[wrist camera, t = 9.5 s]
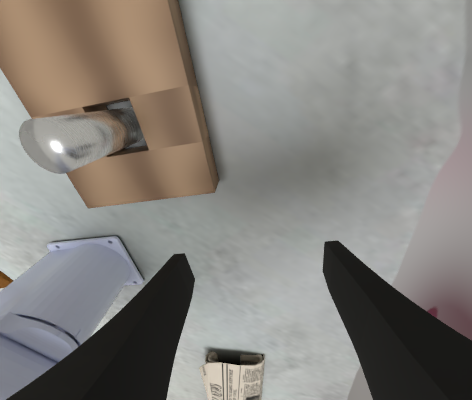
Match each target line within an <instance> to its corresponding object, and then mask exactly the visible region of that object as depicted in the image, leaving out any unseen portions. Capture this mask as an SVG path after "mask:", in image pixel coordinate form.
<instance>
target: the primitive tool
mask: <svg viewBox="0 0 472 400" xmlns="http://www.w3.org/2000/svg"><path fill="white" fill-rule="evenodd" d="M12 282H13V280H12V279H10V278H9V277H8V276H6V275H5V274H4V273H2V272H1V271H0V288H5V287H7V286H8V285H9V284H10V283H12Z"/></svg>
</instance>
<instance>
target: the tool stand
mask: <svg viewBox="0 0 472 400" xmlns="http://www.w3.org/2000/svg"><path fill="white" fill-rule="evenodd" d="M0 68H1V70H2V71H3V73H4V75H5V76H6V78H7V79H8V81H9V83H10V84H11V86H12V87H13V89H14V91H15V92H16V94H17V95H18V97H19V99H20V100H21V102H22V103H23V105H24V107H25V108H26V110H27V111H28V113H29V115H30V116H31V118H32V119H36V118H45V117H53V116H61V115H70V114H78V113H87V112H95V111H104V110H107V107H106V105H109V104H114V103H119V102H124V101H128V100H130V101H131V104H132V107H133V109H134V112H135V114H136V117H137V120H138V122H139V125H140V127H141V130H142V133H143V135H144V138H145V141H146V143H147V146H141V147H135V148H129V149H125V148H123V149H121V150H118V151H116V152H114V153H111V154H109V155H107V156H105V157H102V158H100V159H98V160H95V161H93V162H91V163H89V164H86V165H84V166H82V167H79V168H77V169H75V170H73V171H70V172H68V173H66V174H67V175H68V177H69V179H70V180H71V182H72V183H73V185H74V187H75V188H76V190H77V191H78V193H79V195H80V196H81V198H82V199H83V201H84V203H85V204H86V206H87V207H88V208H95V207H103V206H111V205H119V204H127V203H135V202H143V201H151V200H159V199H167V198H175V197H183V196H191V195H199V194H207V193H215V191H216V188H217V185H218V182H219V179H218V174H217V170H216V165H215V161H214V157H213V152H212V148H211V143H210V139H209V135H208V130H207V126H206V121H205V117H204V112H203V108H202V104H201V99H200V95H199V90H198V86H197V82H196V77H195V73H194V68H193V64H192V60H191V55H190V51H189V46H188V42H187V38H186V33H185V29H184V24H183V20H182V16H181V11H180V7H179V2H178V0H0Z"/></svg>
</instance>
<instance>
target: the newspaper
mask: <svg viewBox="0 0 472 400" xmlns="http://www.w3.org/2000/svg"><path fill="white" fill-rule="evenodd" d="M262 360H263V361H262ZM264 360H265V359H264V354H263V357H262V356H261V355H260V354H259V355H241V365H234V364H227V363H221V362H219V361H218V357H217V354H216V353H215V352H212V351H211V352H210V353H208V354H207V355H206V360H205V362H206V364H205V365H203V366H201V367H200V368H199V369H200V372H201V376H202V379H203V382H204V386H205V389H206V392H207V397H208V400H261V394H262V382H263V371H264Z"/></svg>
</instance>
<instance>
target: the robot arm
mask: <svg viewBox="0 0 472 400" xmlns="http://www.w3.org/2000/svg"><path fill="white" fill-rule="evenodd" d="M47 248H48V249H49V250H50V252H49V253H48V254H47V255H46V256H44V257H43V258H42V259H41V260H39V261H38V262H37V263H36V264H34V265H33V266H32V267H31V268H29V269H28V270H27V271H26V272H24V273H23V274H22V275H21V276H19V277H18V278H17V279H15V280H14V281H13V282H12V283H10V284H9V285H8V286H7V287H5V288H4V289H3V290H2V291H1V292H0V400H166V398H167V392H168V387H169V382H170V377H171V372H172V367H173V363H174V358H175V354H176V350H177V346H178V343H179V339H180V336H181V333H182V329H183V326H184V323H185V319H186V316H187V313H188V309H189V306H190V302H191V299H192V294H193V288H194V282H195V278H194V276H193V273H192V271H191V268H190V265H189V263H188V260H187V258H186V255H185V253H183V254H174V255H173V256H172V257H171V258H170V259H169V260H168V261H167V262H166V264H165V265H164V266H163V267H162V268H161V269H160V270H159V271H158V272H157V273H156V275H155V276H154V277H153V278H152V279H151V280H150V281H149V282H148V283H147V284H146V285H145V287H144V288H143V289H142V290H141V291H140V292H139V293H138V294H137V295H136V296H135V297H134V298H133V299H132V300H131V301H130V302H129V303H128V304H127V305H126V306H125V307H124V308H123V309H122V310H121V311H120V312H119V313H117V314H116V315H115V316H114V317H113V318H112V319H111V320H110V321H109V322H107V323H106V324H105V325H104V326H103V327H102V328H101V329H100V330H98V331H97V332H96V333H95V334H94V335H92V333H93V332H94V330H95V329H96V327H97V326H98V324H99V323H100V321H101V320H102V318H103V317H104V315H105V314H106V312H107V311H108V309H109V307H110V306H111V304H112V303H113V301H114V300H115V298H116V297H117V295H118V294H119V292H120V291H121V289H122V288H123V286H124V285H139V284H142V283H143V281H144V280H143V278H142V277H141V275H140V273H139V271H138V270H137V268H136V266H135V265H134V263H133V261H132V259H131V258H130V256H129V254H128V253H127V251H126V249H125V247H124V246H123V244H122V242H121V241H120V239H119V238H118V237H116V236H112V237H102V238H92V239H82V240H72V241H62V242H52V243H49V244H48V245H47ZM323 273H324V277H325V280H326V283H327V286H328V289H329V292H330V294H331V296H332V299H333V301H334V303H335V305H336V308H337V310H338V312H339V314H340V317H341V319H342V321H343V323H344V325H345V328H346V330H347V332H348V334H349V336H350V339H351V341H352V343H353V346H354V348H355V350H356V353H357V355H358V358H359V361H360V364H361V366H362V369H363V372H364V375H365V378H366V380H367V383H368V386H369V389H370V392H371V395H372V398H373V400H472V341H471V340H470V339H468V338H466V337H465V336H463V335H461V334H460V333H458V332H457V331H455V330H454V329H452V328H451V327H449V326H447V325H446V324H444V323H443V322H441V321H440V320H438V319H437V318H435V317H434V316H432V315H431V314H429V313H428V312H427V311H425V310H424V309H422V308H420V307H419V306H418V305H416V304H415V303H414V302H412V301H411V300H409V299H408V298H407V297H405V296H404V295H403V294H401V293H400V292H399V291H397V290H396V289H395V288H393V287H392V286H391V285H390V284H388V283H387V282H386V281H385V280H383V279H382V278H381V277H380V276H378V275H377V274H376V273H375V272H374V271H372V270H371V269H370V268H369V267H367V266H366V265H365V264H364V263H363V262H362V261H361V260H359V259H358V258H357V257H356V256H355V255H354V254H353V253H351V252H350V251H349V250H348V249H347V248H346V247H345V246H344V245H342V244H341V243H340V242H339V241H328V242H325V245H324V260H323ZM91 335H92V336H91Z"/></svg>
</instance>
